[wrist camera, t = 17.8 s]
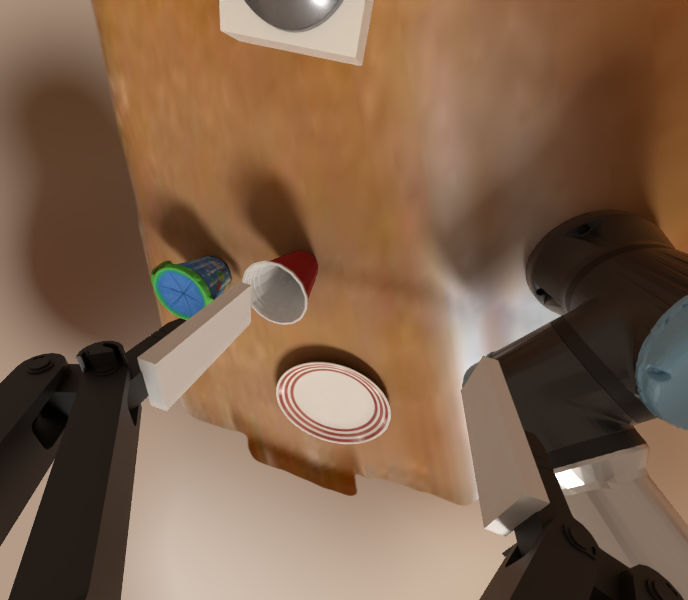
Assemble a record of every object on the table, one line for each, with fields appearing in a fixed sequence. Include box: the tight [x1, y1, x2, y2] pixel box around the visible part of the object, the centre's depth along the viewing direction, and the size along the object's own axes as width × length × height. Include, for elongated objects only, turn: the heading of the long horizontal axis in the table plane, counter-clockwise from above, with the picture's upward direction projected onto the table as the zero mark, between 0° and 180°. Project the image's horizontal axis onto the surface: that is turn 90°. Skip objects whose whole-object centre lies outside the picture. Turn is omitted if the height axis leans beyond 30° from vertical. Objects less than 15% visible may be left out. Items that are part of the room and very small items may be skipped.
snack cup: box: [151, 256, 231, 320], centre depth 52 cm, size 16×11×10 cm
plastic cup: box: [242, 251, 318, 325], centre depth 45 cm, size 11×11×12 cm
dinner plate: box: [276, 362, 391, 444], centre depth 65 cm, size 28×27×3 cm
